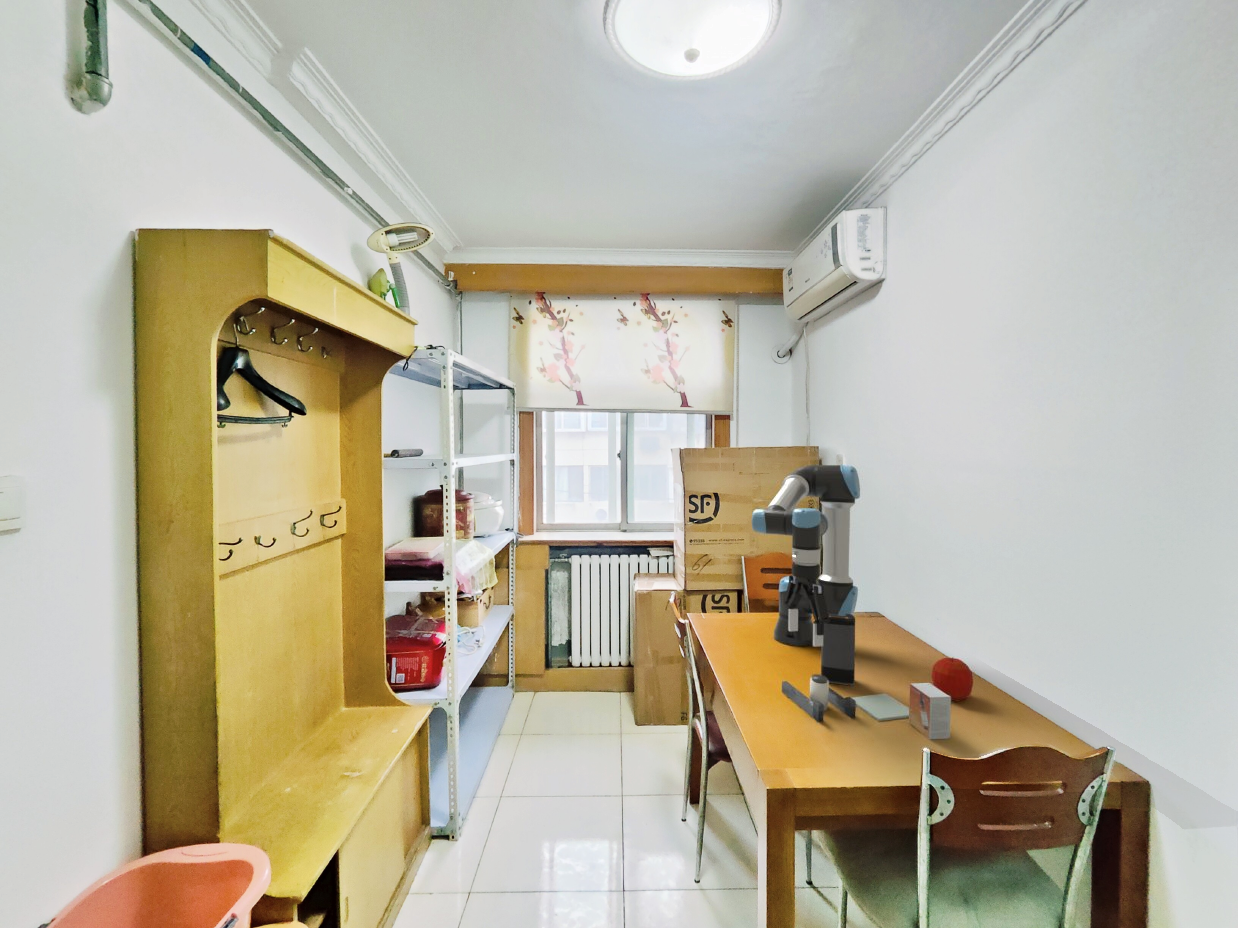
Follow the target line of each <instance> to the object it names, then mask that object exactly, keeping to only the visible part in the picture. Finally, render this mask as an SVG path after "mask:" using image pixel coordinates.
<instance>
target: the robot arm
mask: <svg viewBox="0 0 1238 928" xmlns="http://www.w3.org/2000/svg"><path fill="white" fill-rule="evenodd" d="M807 497H814V498H815V497H817V498H819V502H820V504H822V506H823V507H824V512H821V511H820V510H819V509H816V508H808V507H806V508H805V507H800V508H796V507H797V506H798V505H799V503H800V501H801V500H802V499H805V498H807ZM860 497H861V486H860V479H859V474H858V471H857V469H856V467H854V466H852V465H845V464H844V465H843V464H840V465H837V464H831V465H829V464H827V465H825V464H823V465H822V464H810V465H805V466H801V467H799V468H797V469H795V470H792V472H790V473H789V474H788V475H787V476H786V477H785V478H784V479H783V480H782V483H781V487H780V490H779V491H778V492H777V494H776V495H775V496H774V498H773V499H772V500H771V501H770V503H769V504H768V506H766V508H765V509H764V508H760V509H759V508H758V509H757V508H756V509H754V510H753V512H752V514H751V515H752V516H751V527H752V531H753V532H755V533H759V534H764V535H766V534H768V535H780V536H782V535H783V536H792V537H791V539H792V540H791V541H792V548H791V549H792V550H791V551H792V552H791V557H792V563H791V574H792V575H788V576H784V577H782V578H781V579H780V580H779V586H778V587H779V588H778V619H777V621H776V624H775V627H774V630H773V638H774V639H775V640H776V641H777V642H779V643H783V644H786V645H790V646H797V647H807V646H812V647H815V648H816V647H821V646H823V635H824V623H829V622H830V620H829V615H828V612H830V615H839V616H845V615H846V614H851V615H853V616H854V613H855V610H856V606H857V602H858V601H857V600H858V595H859V589H858V588H859V587H857V586H856V585H854V580H853V578H851V576H850V573H849V571H850V570H849V569H850V535H851V534H850V531H851V529H850V528H851V526H850V525H851V523H850V521H851V508H852V507H853V506H854V505H855V504H856V500H857V499H860ZM821 537H823V551H822V552H823V553H822V554H823V558H822V559H823V560H822V562H823V563H822V574H820V573H821V572H820V571H821V566H820V563H821ZM813 620H814V621H813Z"/></svg>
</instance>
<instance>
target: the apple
mask: <svg viewBox="0 0 1238 928" xmlns="http://www.w3.org/2000/svg"><path fill="white" fill-rule="evenodd" d="M973 677H974V676H973V671H972V670H971V669H970V667H969V666H968V665H967V664H966V663H965V662H964V661H962V660H961V659H959V658H956V657H955V658H954V657H943V658H941V659H938V660H937V661H936V662H935V663H934V664H933V665H932V671H931V679H932V680H931V681H932V685H933V686H935V687H936V688H938V689H939V690H941V691H942V692H944V693H945V694H947V695H949V696H950V697H951V701H958V702H959V701H962V700H964V699H966V698H968V697H970V696H971V694H972V693H971V692H972V690H973V686H974V678H973Z"/></svg>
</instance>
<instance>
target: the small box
mask: <svg viewBox="0 0 1238 928" xmlns="http://www.w3.org/2000/svg"><path fill="white" fill-rule="evenodd" d="M908 708H909V717H908V723H909V724H910V725H911V726H913V727H914V728H915V729H916V730H917V731H918V732H920V733H921V734H922V735H923V736H924V737H926V739H928V740H943V739H946V740H947V739H950V738H951V713H952V711H951V710H952V709H951V708H952V700H951V697H950V696H949V695H947V694H945V693H944V692H942V691H941V690H939V689H938V688H936V687H935V686H934V685H933V683H930V682H922V683H921V682H919V683H915V682H914V683H909V704H908Z"/></svg>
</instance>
